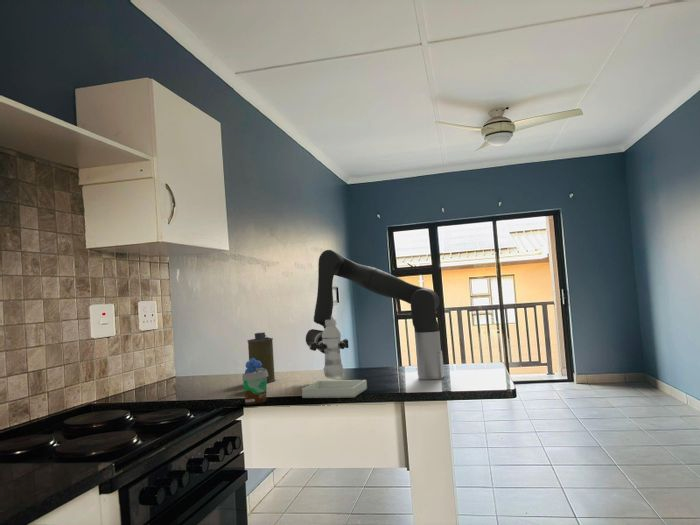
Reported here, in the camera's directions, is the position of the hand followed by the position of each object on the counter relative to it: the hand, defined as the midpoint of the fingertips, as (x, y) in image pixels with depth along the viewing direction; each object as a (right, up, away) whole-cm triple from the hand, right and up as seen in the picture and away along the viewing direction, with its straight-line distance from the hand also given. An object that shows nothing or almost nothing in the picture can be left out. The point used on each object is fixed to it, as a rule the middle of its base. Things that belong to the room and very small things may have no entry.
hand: (333, 346), depth 174 cm
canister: (-30, -21, +38) cm, 53 cm away
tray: (+1, -16, +1) cm, 16 cm away
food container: (-24, -18, -4) cm, 30 cm away
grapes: (-30, -19, +17) cm, 39 cm away
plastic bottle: (0, -11, +2) cm, 11 cm away
